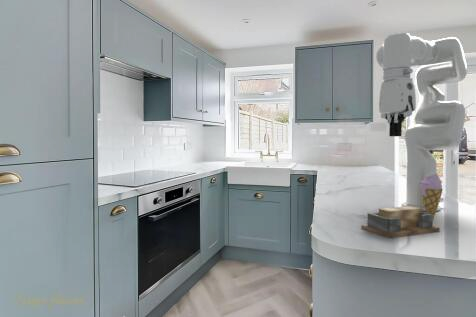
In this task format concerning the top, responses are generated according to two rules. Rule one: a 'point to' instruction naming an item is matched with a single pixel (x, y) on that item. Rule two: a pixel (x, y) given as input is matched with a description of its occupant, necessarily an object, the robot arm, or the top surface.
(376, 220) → the rail
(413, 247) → the top surface
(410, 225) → the beige rectangular block
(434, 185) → the ice cream cone
